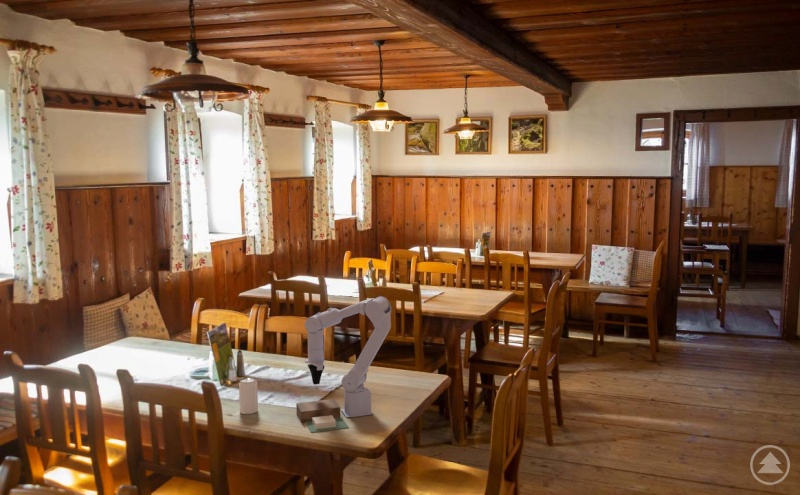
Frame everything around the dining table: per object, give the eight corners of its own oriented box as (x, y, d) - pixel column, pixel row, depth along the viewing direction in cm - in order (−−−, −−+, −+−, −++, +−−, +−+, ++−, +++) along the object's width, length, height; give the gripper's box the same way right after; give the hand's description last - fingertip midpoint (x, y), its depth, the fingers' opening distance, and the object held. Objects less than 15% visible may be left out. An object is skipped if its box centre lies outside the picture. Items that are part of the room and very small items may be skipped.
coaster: (335, 421, 228) (336, 426, 228) (331, 415, 234) (332, 420, 234) (315, 423, 226) (315, 429, 226) (312, 417, 232) (312, 423, 232)
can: (259, 408, 247) (258, 376, 246) (256, 414, 241) (255, 382, 239) (241, 408, 247) (240, 377, 245) (238, 415, 240) (237, 382, 239)
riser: (334, 409, 246) (334, 398, 245) (340, 418, 237) (340, 407, 237) (296, 413, 241) (296, 403, 241) (301, 422, 233) (301, 411, 232)
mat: (341, 418, 237) (341, 417, 237) (348, 427, 228) (348, 427, 228) (305, 422, 233) (305, 421, 233) (311, 432, 224) (311, 432, 224)
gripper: (301, 343, 250) (301, 379, 251) (308, 353, 236) (309, 391, 238) (319, 342, 252) (320, 377, 253) (328, 352, 238) (328, 389, 240)
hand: (316, 383), depth 246 cm, fingers closed
